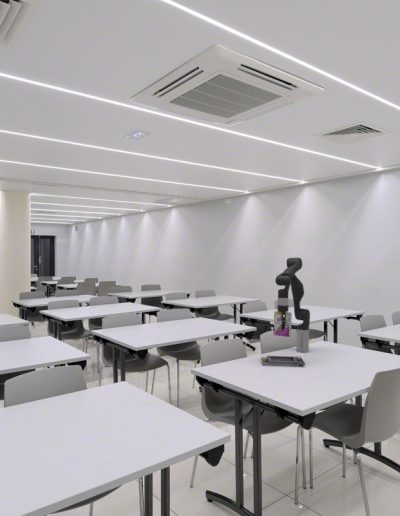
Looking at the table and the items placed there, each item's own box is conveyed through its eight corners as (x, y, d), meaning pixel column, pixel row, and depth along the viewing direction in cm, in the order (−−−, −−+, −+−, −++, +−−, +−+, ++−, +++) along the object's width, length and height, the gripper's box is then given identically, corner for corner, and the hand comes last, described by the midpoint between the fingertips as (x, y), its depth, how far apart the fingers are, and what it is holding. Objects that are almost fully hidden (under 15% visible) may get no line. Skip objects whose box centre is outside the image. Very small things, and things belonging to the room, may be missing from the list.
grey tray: (260, 359, 279) (261, 352, 279) (300, 361, 277) (301, 353, 277) (262, 365, 264) (262, 358, 264) (304, 367, 261) (304, 359, 261)
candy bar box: (273, 335, 271) (273, 311, 271) (275, 334, 275) (276, 310, 275) (289, 337, 265) (289, 312, 265) (291, 336, 269) (291, 312, 270)
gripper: (289, 305, 263) (289, 330, 263) (287, 303, 277) (286, 327, 277) (278, 305, 264) (278, 330, 263) (276, 303, 278) (276, 326, 278)
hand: (282, 328), depth 270 cm, fingers closed on candy bar box, 6 cm apart
